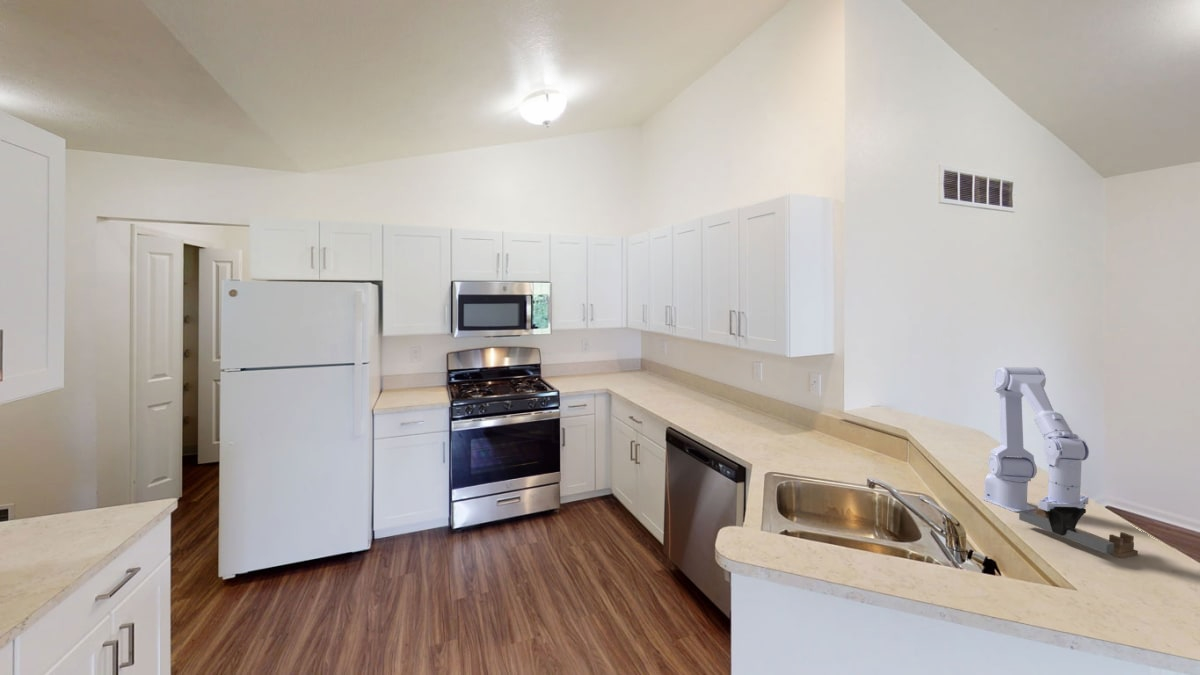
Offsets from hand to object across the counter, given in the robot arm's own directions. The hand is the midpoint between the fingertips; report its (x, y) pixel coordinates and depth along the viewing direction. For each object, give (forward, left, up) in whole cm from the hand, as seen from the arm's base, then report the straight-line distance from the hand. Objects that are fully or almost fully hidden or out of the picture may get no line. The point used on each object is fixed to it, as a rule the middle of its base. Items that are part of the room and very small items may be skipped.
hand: (1062, 532), depth 112 cm
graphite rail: (0, 0, 0) cm, 0 cm away
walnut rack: (0, +7, -2) cm, 7 cm away
